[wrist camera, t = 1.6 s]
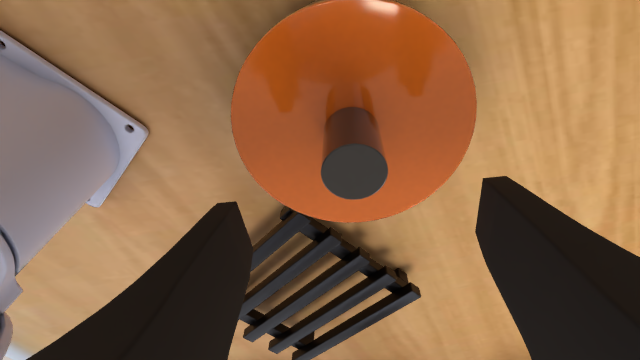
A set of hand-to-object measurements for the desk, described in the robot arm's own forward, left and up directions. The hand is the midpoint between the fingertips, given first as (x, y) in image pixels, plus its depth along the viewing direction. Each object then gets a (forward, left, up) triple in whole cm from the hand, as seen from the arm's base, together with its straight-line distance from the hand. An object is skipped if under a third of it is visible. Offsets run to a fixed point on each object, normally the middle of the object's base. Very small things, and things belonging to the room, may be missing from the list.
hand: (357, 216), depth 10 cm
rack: (+8, -14, -10) cm, 19 cm away
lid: (0, 0, -6) cm, 6 cm away
